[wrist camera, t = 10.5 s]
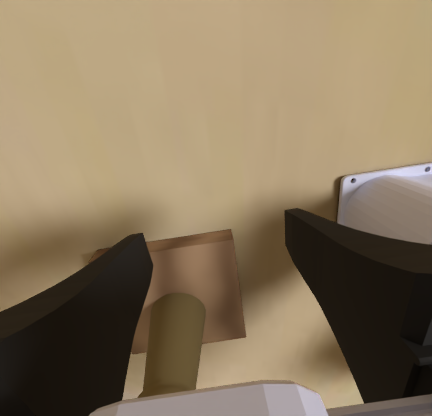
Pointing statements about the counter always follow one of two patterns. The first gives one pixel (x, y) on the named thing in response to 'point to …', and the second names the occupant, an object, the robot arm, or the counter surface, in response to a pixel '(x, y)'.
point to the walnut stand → (195, 283)
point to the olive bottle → (174, 344)
